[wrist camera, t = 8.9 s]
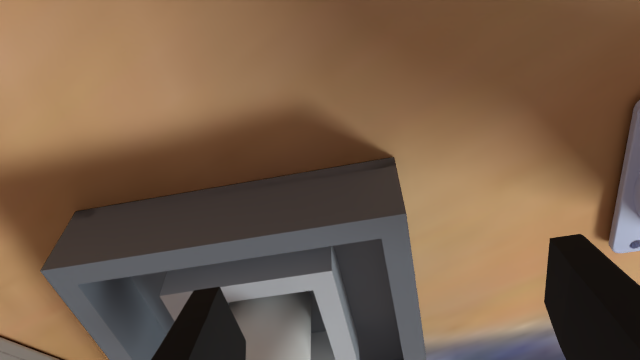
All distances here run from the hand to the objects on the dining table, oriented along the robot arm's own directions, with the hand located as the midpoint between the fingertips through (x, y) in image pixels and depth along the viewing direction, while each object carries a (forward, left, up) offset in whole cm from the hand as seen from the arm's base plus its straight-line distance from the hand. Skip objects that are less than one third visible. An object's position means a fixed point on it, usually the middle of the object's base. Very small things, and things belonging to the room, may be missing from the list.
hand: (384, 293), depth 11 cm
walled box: (+6, +10, -9) cm, 15 cm away
